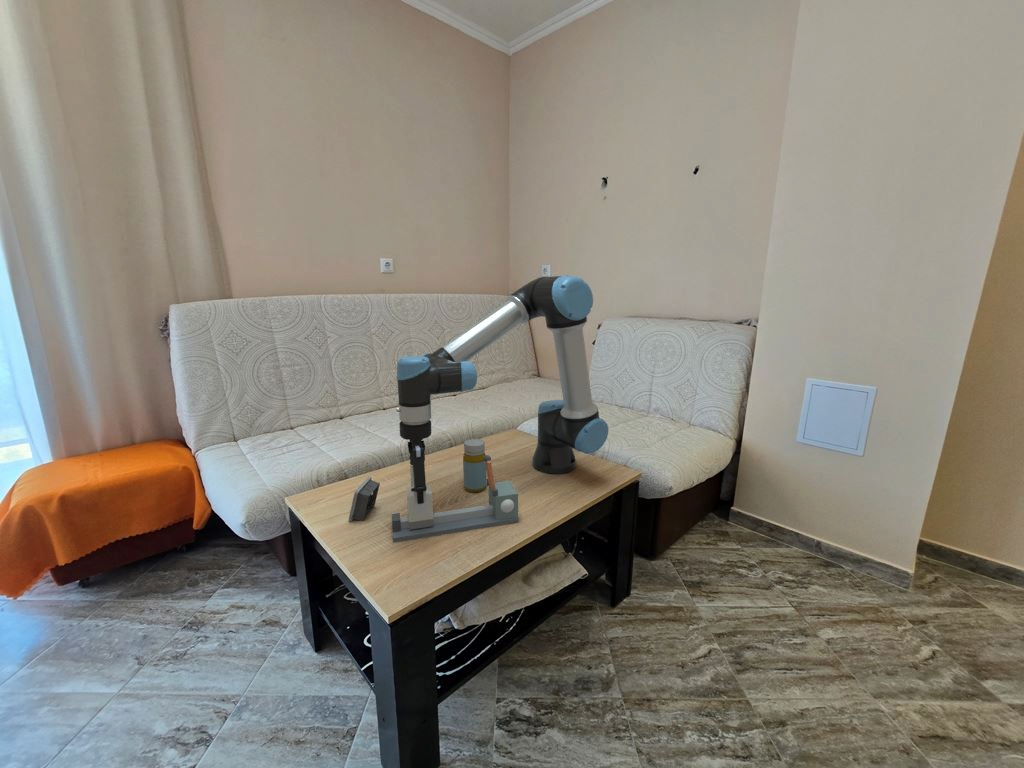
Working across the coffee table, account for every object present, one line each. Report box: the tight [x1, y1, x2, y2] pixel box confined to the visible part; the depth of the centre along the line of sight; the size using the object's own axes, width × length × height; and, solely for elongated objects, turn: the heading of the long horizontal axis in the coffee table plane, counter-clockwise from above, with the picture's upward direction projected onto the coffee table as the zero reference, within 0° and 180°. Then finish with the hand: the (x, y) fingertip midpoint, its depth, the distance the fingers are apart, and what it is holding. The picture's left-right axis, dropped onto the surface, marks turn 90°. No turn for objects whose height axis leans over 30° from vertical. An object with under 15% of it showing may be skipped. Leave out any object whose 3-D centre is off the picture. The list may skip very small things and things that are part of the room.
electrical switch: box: [348, 476, 381, 522], centre depth 114 cm, size 9×5×9 cm, turn 176°
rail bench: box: [391, 478, 519, 544], centre depth 109 cm, size 32×9×10 cm, turn 107°
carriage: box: [405, 484, 434, 530], centre depth 106 cm, size 6×5×9 cm
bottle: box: [462, 438, 487, 493], centre depth 128 cm, size 7×7×15 cm
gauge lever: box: [484, 454, 495, 491], centre depth 110 cm, size 2×4×9 cm, turn 17°
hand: (418, 500), depth 106 cm, fingers open, 13 cm apart
